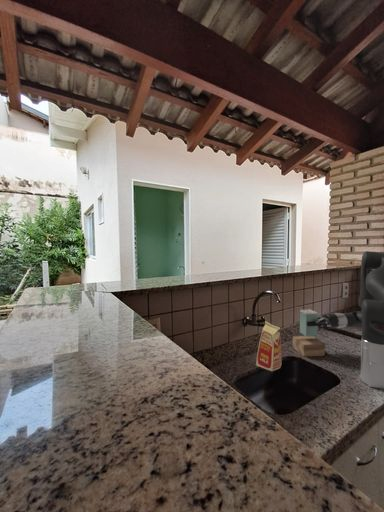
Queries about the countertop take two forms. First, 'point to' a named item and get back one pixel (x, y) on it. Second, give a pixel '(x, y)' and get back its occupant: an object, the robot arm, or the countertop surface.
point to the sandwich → (308, 346)
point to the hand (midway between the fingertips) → (304, 322)
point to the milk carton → (269, 348)
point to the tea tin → (308, 317)
